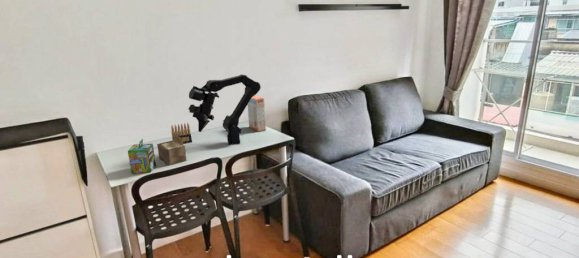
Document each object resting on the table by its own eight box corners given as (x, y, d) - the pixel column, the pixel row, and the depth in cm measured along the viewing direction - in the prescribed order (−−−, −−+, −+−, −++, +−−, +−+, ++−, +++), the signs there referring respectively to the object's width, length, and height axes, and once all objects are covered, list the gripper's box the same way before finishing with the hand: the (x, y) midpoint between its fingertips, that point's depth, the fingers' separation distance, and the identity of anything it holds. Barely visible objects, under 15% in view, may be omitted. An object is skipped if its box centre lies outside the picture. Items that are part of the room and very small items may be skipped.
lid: (175, 141, 180) (174, 134, 179) (184, 146, 172) (183, 138, 171) (160, 145, 175) (159, 137, 174) (168, 150, 167) (167, 142, 166)
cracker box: (266, 130, 218) (264, 98, 213) (257, 132, 216) (255, 99, 210) (257, 125, 230) (254, 94, 224) (248, 127, 227) (246, 96, 221)
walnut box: (176, 154, 183) (174, 139, 180) (186, 160, 173) (184, 145, 171) (159, 158, 177) (157, 144, 175) (169, 165, 168) (166, 150, 165)
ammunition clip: (173, 145, 197) (170, 125, 194) (172, 144, 199) (169, 124, 195) (192, 142, 201) (189, 122, 198) (191, 141, 203) (189, 121, 199)
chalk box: (137, 166, 168) (132, 137, 164) (156, 165, 169) (152, 136, 165) (130, 174, 160) (125, 143, 155) (151, 172, 160) (146, 142, 156)
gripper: (198, 100, 192) (191, 127, 193) (187, 98, 174) (178, 127, 174) (217, 106, 192) (209, 133, 192) (208, 104, 173) (199, 133, 174)
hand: (199, 131), depth 183 cm, fingers closed
